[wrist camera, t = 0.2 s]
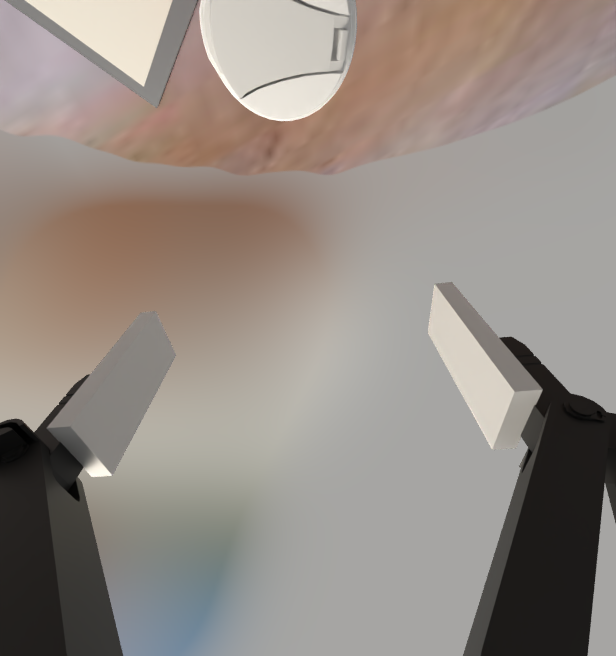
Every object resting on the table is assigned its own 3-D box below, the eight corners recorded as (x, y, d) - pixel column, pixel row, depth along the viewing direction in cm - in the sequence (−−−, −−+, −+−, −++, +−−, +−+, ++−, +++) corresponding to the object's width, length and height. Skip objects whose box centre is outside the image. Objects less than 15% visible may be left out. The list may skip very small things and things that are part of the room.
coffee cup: (340, -77, 22) (378, -81, 13) (326, 68, 29) (346, 133, 20) (222, -92, 22) (174, -107, 12) (234, 60, 28) (209, 124, 19)
